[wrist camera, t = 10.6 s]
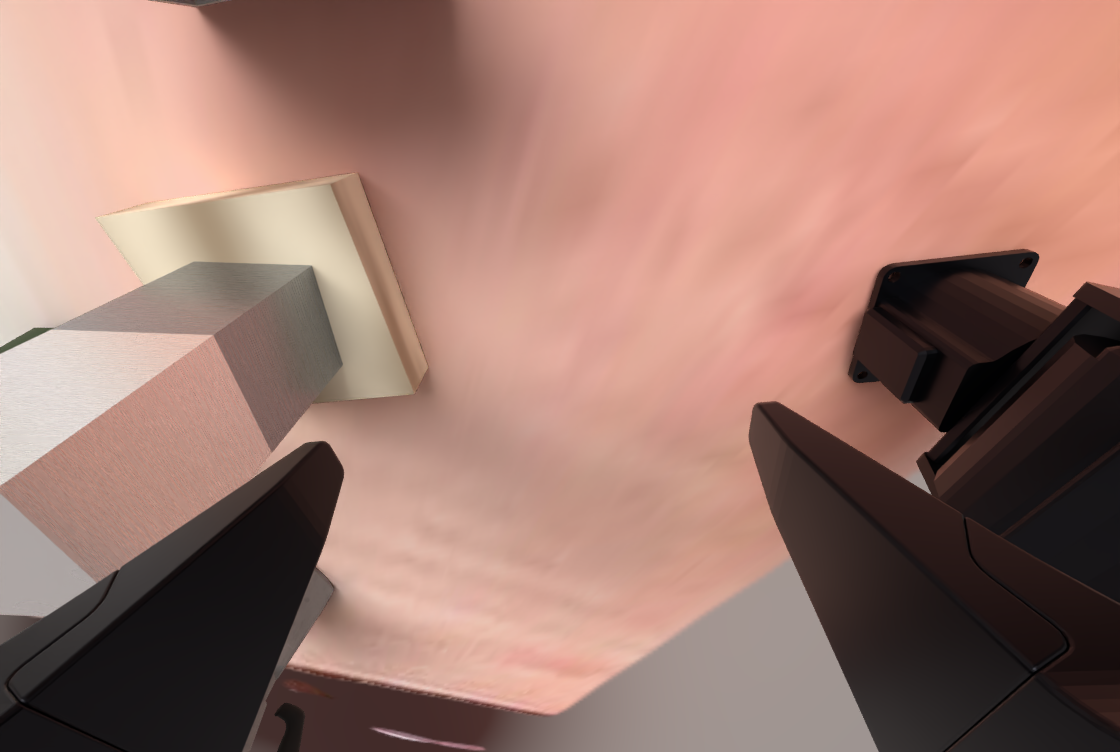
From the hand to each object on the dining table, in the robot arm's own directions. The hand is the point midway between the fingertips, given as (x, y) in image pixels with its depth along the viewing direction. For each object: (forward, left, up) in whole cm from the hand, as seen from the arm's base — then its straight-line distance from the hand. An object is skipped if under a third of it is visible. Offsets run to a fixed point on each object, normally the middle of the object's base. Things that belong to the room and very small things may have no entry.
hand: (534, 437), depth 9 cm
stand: (+13, +1, -13) cm, 18 cm away
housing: (+13, +1, -11) cm, 17 cm away
